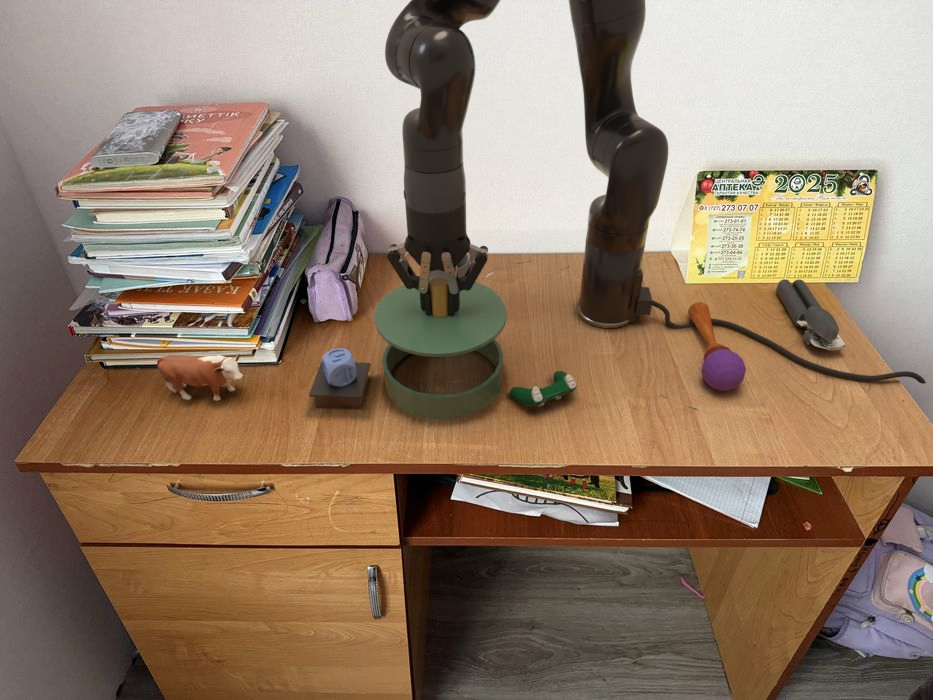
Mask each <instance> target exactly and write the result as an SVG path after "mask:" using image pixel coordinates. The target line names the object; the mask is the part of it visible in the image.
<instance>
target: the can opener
mask: <svg viewBox="0 0 933 700" xmlns="http://www.w3.org/2000/svg"><path fill="white" fill-rule="evenodd" d="M807 285H808V284H806V282H805V281H804V280H802V279H796V280H794V281H793V282H792V283H791V281H790V280H789V279H785V278H784V279H781V280H779V282H778V284H777V286H776V289H775V290H776V291H775V292H776V294H777V296H778V297H779V299H780V301H781V302H782V305H783V306H784V308H785V309H786V311H787V313H788V315H789V317H790V318H791V320H792V321H793V323H794V325H795V326H796V327H797V328H800V329H801V328H805V327H806V328H807V330H805V331H804V335H803V340H804V342H805V343H806V345H807V346H810V345H812V346H814V347H815V348H819V349H825V350H827V351H838V350H843V349H844V348H845V347H846V343H845V342H844V340H843V339H842V338H841V336H840V334H839V333H840V328H839V324H838V323H837V321H836V319H835V318H834V316H833V315H832V314H831V313H830V312H829V311H828V310H826V309H824V308H823V307H822V306H821V304H820V303H819V301H818V300H817V298H816V297H815V295H814V294H813V293H812V291H811V289H810V287H808V286H807Z"/></svg>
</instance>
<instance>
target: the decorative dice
mask: <svg viewBox="0 0 933 700" xmlns="http://www.w3.org/2000/svg"><path fill="white" fill-rule="evenodd" d="M321 362H322V365H323V369H324V373H325V376H326V379H327V381H328V383H329V384H330V385H333V386H337V387H341V386H346V385H348V384H350V383H351V382H353V381H354V379H355V378H356V376H357V369H356V365H355V362H356V361H355V359H354V356H353V354H352V352H351V350H349V349H347V348H343V347H336V348H332V349H329V350H327V352H325V353H324V355H323V356H322V358H321Z"/></svg>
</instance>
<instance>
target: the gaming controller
mask: <svg viewBox="0 0 933 700" xmlns="http://www.w3.org/2000/svg"><path fill="white" fill-rule="evenodd" d="M553 382H554V383H552V384H549V385H547V386H544V387H541V388H539V386H533V387H532V388H527V387H522V386H512V387H511V388H510V390H509V391H508V395H509V396H510V397H511V398H512V399H513V400H514V401H516V402H517V403H519V404H521V405H524V406H526V407H530V408H533V407H535V406H537V407H542V406H544V405H545V402H548V401H550V400H551V401H552V400H553V399H554V400H556V401H558V400H560V399H562V396H564V395H567V394H570V393H573V392H575V391H576V389H577V387H578V385H577V382H576V380H575V379H574V377H573V376H572V375H571V374H570V373H567V372H565V371H563V370H556V371H555V372H554V373H553Z"/></svg>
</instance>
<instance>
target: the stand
mask: <svg viewBox="0 0 933 700" xmlns="http://www.w3.org/2000/svg"><path fill="white" fill-rule="evenodd" d="M354 362H355V365H356V369H357V376H356V378H355V379H354V381H353V382H351V383H350V384H348V385H346V386H341V387H337V386H333V385H330V384H329V383H328V381H327V379H326V376H325V373H324V369H323V365H322V361H320V364H319V366H318V370H317V373H316V375H315V377H314V381H313V384H312V386H311V389H310V392H309V397H310V398H314V401H315V407H316V409H317V408H318V409H342V410H343V409H345V410H346V409H347V410H361V409H362V405H363V402H364V399H365V395H366V391H367V389H368V388H367V387H368V384H369V373H370V372H369V371H370V368H371V362H356V361H354Z"/></svg>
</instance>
